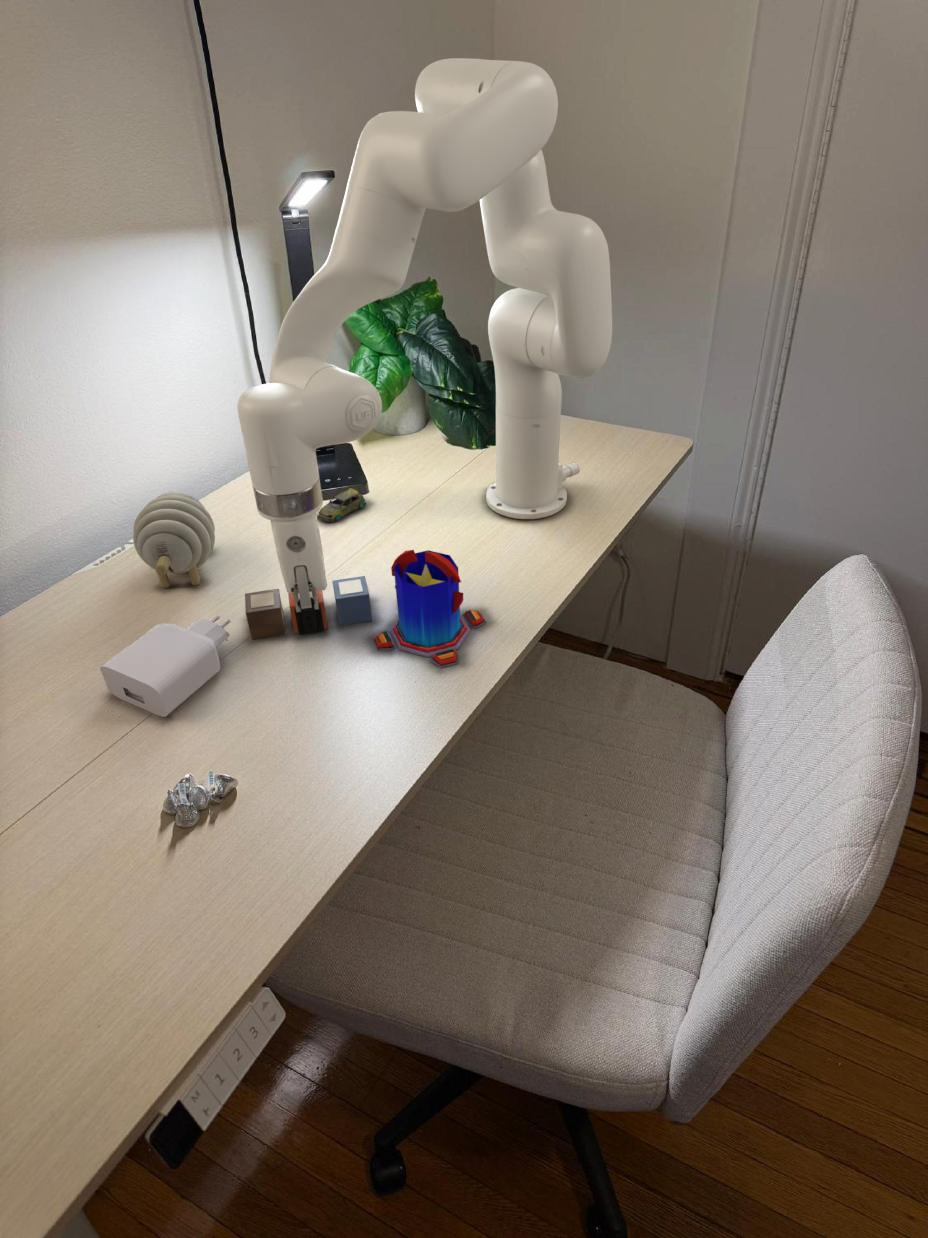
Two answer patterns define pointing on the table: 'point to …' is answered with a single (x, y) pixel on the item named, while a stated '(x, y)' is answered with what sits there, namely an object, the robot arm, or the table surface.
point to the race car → (341, 505)
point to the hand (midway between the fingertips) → (310, 619)
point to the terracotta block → (320, 601)
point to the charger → (166, 665)
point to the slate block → (352, 600)
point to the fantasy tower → (428, 608)
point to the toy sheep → (174, 536)
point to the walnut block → (264, 614)
